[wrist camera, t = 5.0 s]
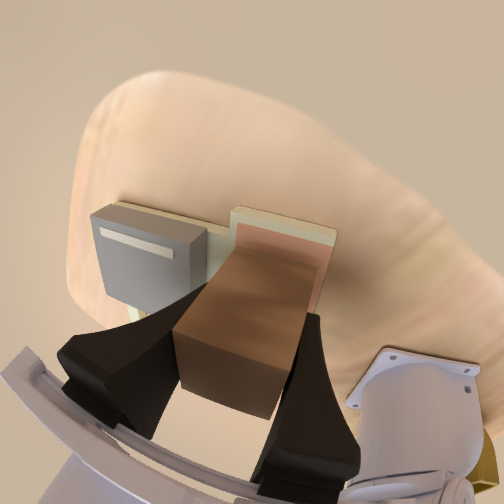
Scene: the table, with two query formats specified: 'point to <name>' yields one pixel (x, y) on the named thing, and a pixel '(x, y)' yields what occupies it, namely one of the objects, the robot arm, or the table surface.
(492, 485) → the flower pot
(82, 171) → the table surface
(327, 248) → the puzzle board
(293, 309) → the walnut block
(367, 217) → the table surface
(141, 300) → the sliding cover
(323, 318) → the table surface
